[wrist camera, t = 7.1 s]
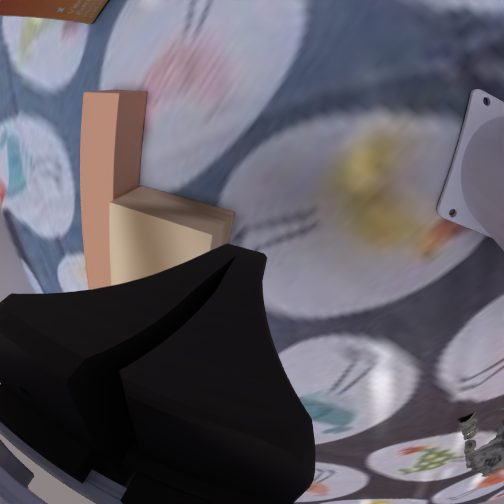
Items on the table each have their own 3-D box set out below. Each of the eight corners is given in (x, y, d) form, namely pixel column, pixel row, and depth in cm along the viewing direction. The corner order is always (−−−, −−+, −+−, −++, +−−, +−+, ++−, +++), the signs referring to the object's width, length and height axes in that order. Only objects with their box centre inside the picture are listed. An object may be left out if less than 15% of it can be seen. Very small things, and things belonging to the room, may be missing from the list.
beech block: (236, 211, 21) (212, 235, 17) (215, 315, 25) (195, 348, 22) (144, 184, 22) (109, 202, 18) (140, 286, 26) (113, 312, 22)
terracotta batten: (147, 91, 18) (119, 93, 15) (139, 325, 28) (122, 345, 25) (113, 90, 19) (83, 92, 16) (113, 314, 28) (95, 332, 26)
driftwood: (506, 463, 26) (508, 474, 24) (465, 478, 29) (466, 489, 27) (515, 387, 21) (520, 402, 19) (457, 411, 24) (459, 427, 22)
